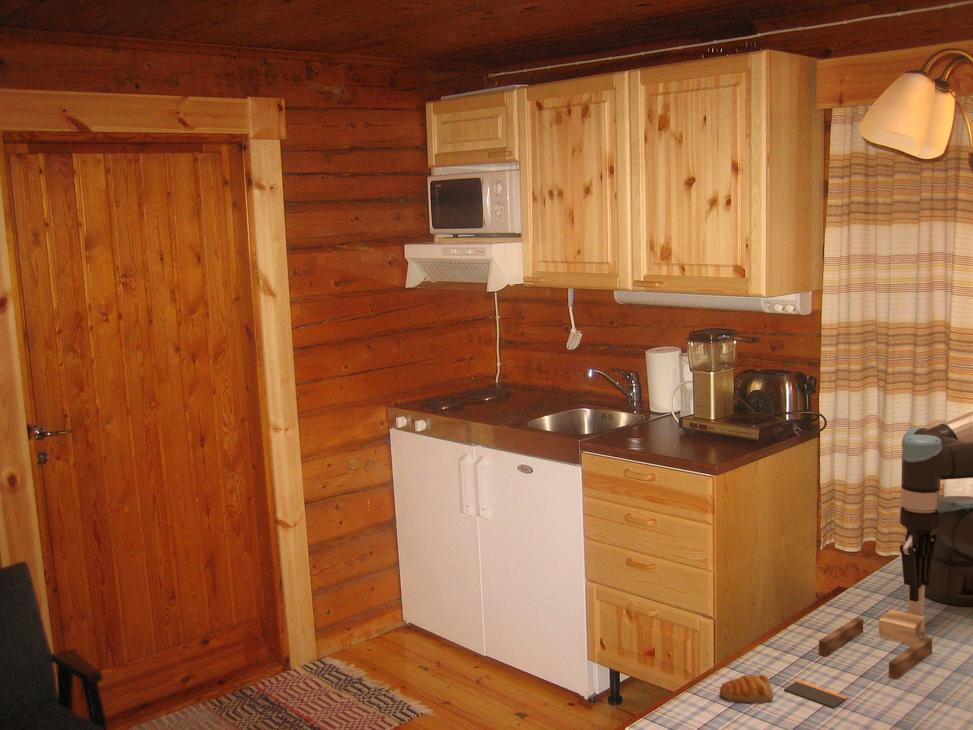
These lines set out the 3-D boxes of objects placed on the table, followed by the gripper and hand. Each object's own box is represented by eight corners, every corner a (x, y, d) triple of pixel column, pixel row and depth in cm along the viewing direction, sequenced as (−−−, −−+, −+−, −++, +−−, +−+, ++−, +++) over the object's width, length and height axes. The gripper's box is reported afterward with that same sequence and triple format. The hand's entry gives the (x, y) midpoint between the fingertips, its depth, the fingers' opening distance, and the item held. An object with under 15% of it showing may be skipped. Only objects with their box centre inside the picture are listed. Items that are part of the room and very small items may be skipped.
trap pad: (797, 681, 186) (797, 680, 186) (847, 698, 179) (847, 697, 179) (784, 690, 183) (784, 689, 183) (833, 708, 175) (833, 706, 175)
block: (890, 627, 210) (890, 609, 209) (924, 635, 205) (924, 617, 205) (878, 637, 205) (879, 619, 204) (913, 646, 200) (913, 628, 199)
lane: (856, 630, 208) (856, 617, 208) (931, 652, 196) (932, 638, 196) (818, 654, 197) (818, 640, 197) (896, 679, 186) (896, 664, 185)
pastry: (726, 707, 178) (726, 687, 177) (714, 690, 185) (714, 671, 184) (776, 703, 179) (776, 683, 178) (762, 686, 185) (762, 667, 185)
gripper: (915, 498, 213) (912, 600, 216) (888, 511, 204) (884, 617, 208) (950, 504, 208) (946, 609, 211) (923, 518, 199) (920, 627, 202)
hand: (915, 613), depth 209 cm, fingers closed
